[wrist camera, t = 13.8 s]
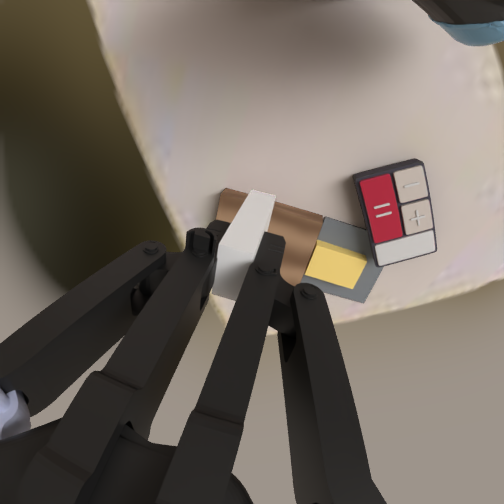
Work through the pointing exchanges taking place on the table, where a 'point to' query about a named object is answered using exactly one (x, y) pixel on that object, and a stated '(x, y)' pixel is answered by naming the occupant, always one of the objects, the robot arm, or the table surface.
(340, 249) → the butter yellow block
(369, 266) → the mat
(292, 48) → the table surface
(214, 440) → the robot arm
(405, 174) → the calculator
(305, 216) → the brown wooden slab
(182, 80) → the table surface
